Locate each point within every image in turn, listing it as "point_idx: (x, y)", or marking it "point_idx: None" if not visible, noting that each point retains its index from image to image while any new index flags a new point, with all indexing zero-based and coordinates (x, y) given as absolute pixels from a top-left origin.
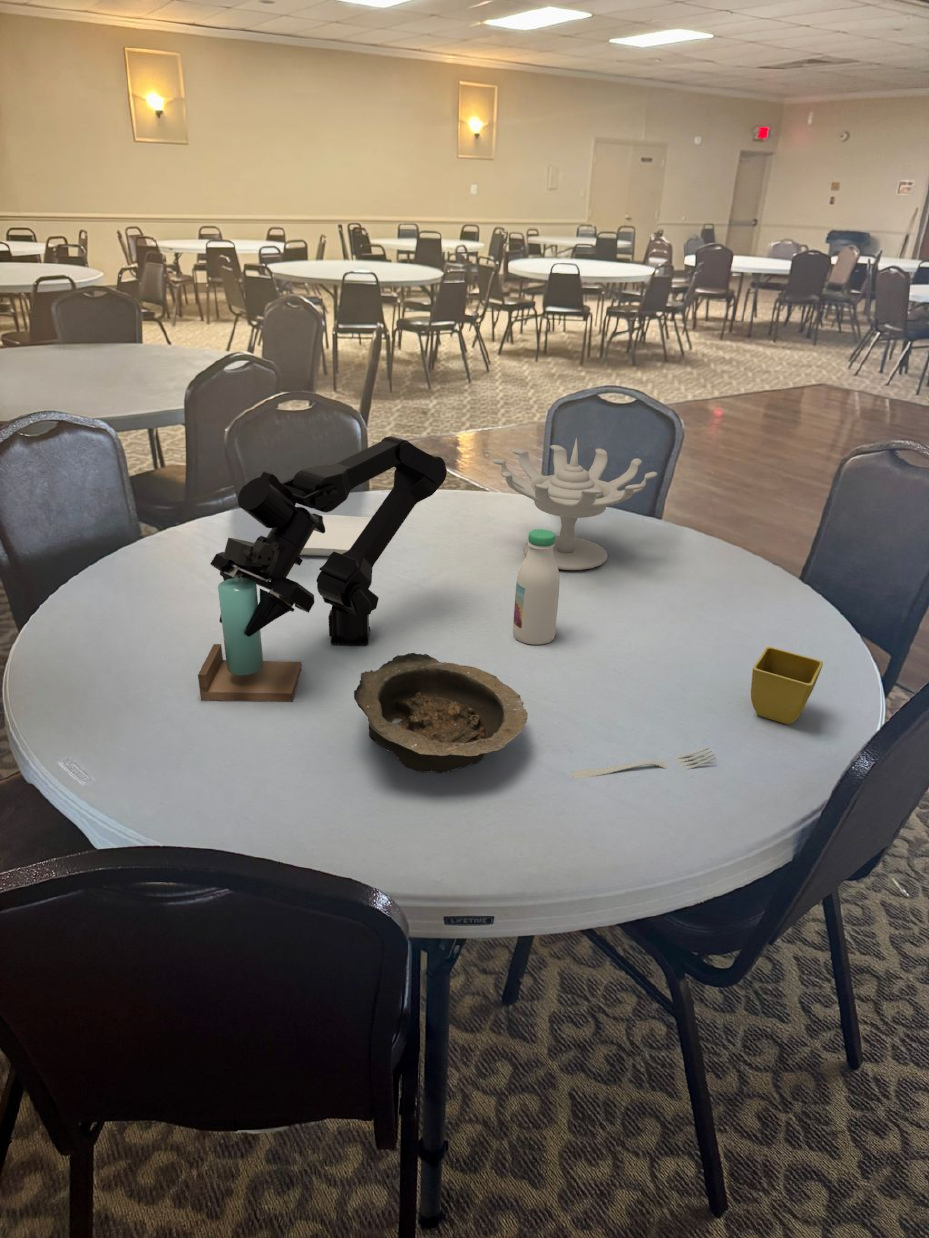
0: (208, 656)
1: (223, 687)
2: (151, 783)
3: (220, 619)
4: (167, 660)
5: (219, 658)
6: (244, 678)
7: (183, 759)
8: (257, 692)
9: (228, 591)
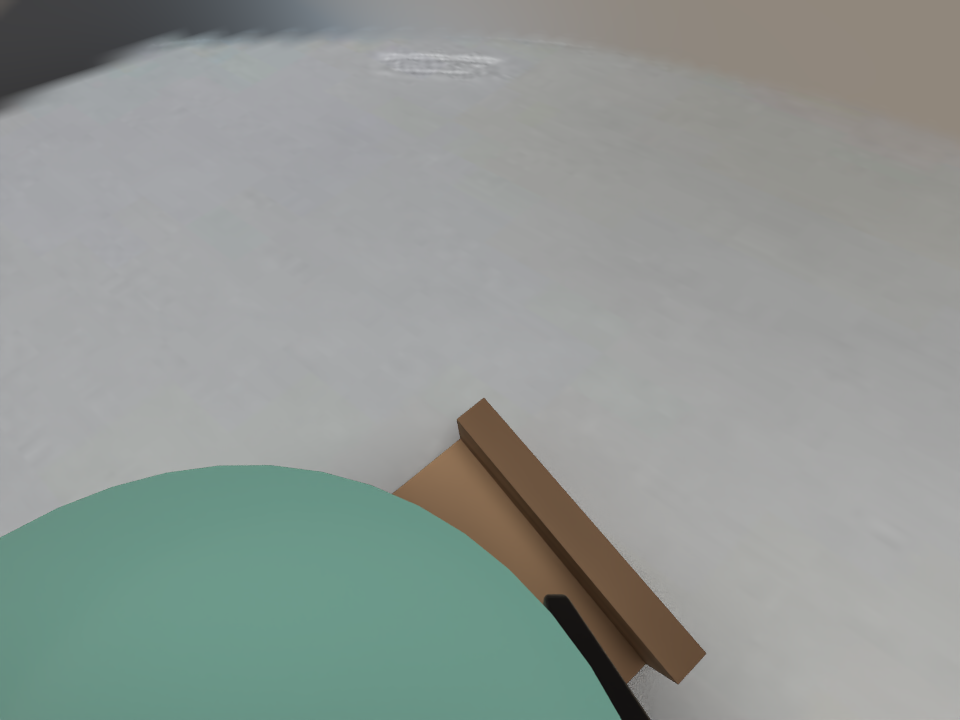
0: (598, 537)
1: (439, 500)
2: (258, 130)
3: (563, 606)
4: (847, 526)
5: (616, 620)
6: None
7: (267, 219)
8: None
9: (106, 545)
